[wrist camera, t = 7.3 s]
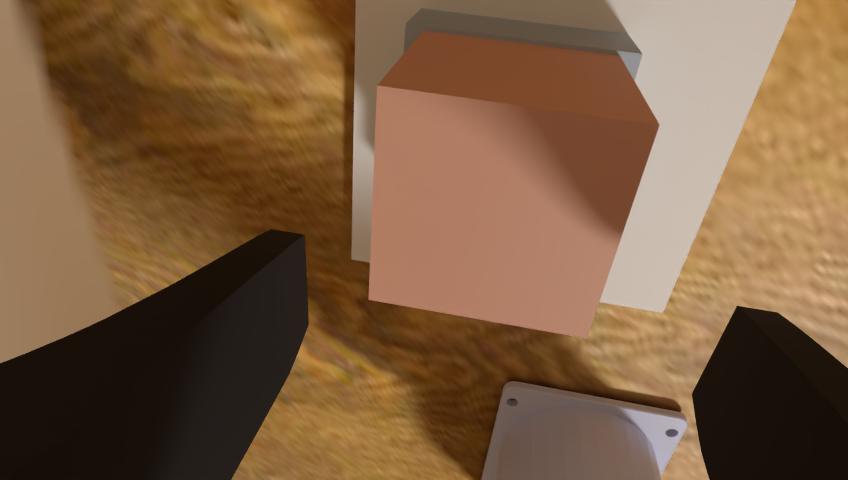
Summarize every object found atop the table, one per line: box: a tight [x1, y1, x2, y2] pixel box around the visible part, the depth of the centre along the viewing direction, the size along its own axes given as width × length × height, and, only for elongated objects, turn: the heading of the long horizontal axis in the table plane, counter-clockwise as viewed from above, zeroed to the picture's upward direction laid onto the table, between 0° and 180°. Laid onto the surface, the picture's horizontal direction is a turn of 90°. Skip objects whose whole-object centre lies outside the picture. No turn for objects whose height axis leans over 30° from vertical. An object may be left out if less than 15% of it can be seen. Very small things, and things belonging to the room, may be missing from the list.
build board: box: [351, 0, 797, 313], centre depth 18 cm, size 11×12×1 cm
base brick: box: [404, 8, 642, 81], centre depth 16 cm, size 6×6×2 cm
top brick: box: [369, 30, 659, 338], centre depth 13 cm, size 5×5×5 cm
